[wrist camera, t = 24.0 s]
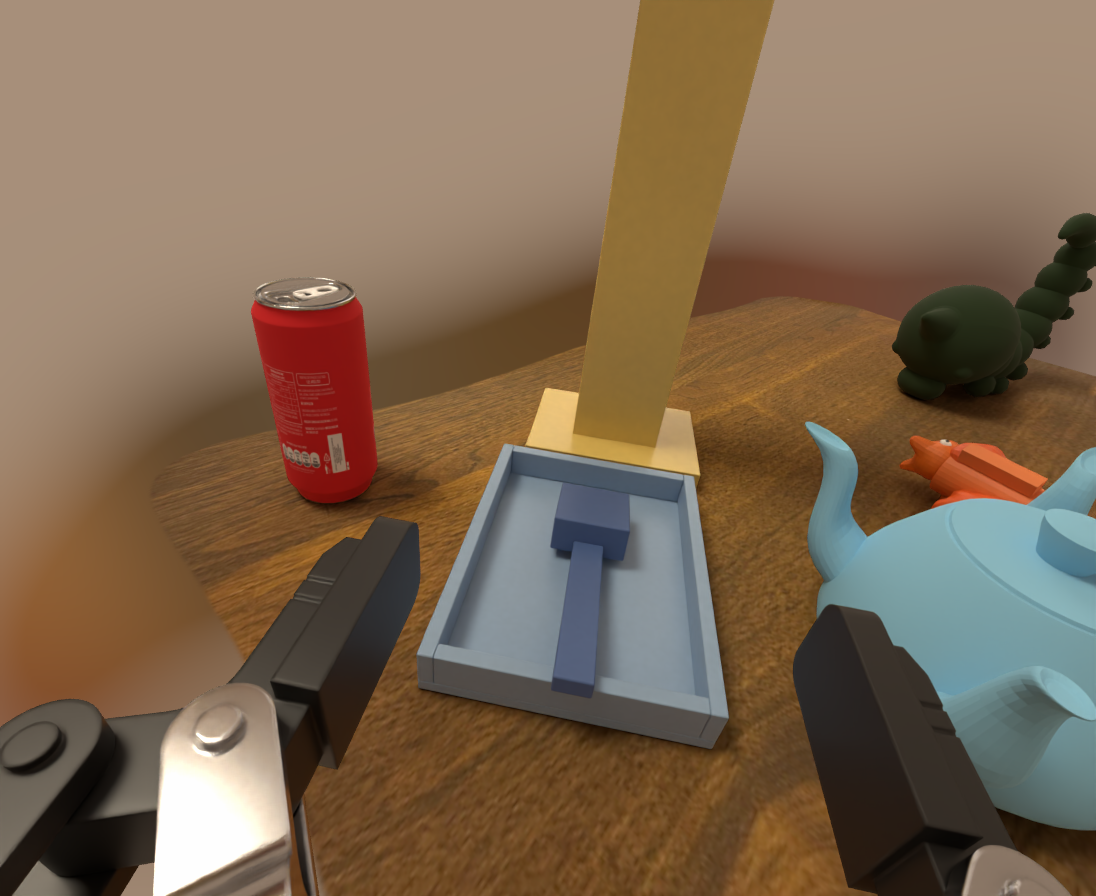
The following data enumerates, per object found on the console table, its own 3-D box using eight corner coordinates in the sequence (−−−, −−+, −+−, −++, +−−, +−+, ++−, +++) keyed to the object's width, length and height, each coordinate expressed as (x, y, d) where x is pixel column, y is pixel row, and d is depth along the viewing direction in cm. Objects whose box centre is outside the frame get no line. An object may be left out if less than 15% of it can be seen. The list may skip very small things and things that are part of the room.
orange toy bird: (1163, 506, 29) (946, 406, 38) (1089, 575, 27) (876, 454, 36) (1113, 557, 33) (924, 455, 41) (1043, 621, 31) (859, 501, 39)
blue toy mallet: (519, 685, 20) (524, 646, 19) (558, 510, 31) (562, 481, 31) (623, 706, 19) (633, 668, 19) (623, 522, 31) (629, 493, 30)
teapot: (1261, 898, 19) (1614, 757, 13) (859, 868, 18) (1047, 707, 12) (985, 585, 31) (1106, 442, 25) (740, 561, 30) (808, 409, 25)
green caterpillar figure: (953, 371, 65) (835, 378, 53) (1056, 210, 56) (939, 175, 44) (1038, 406, 59) (923, 423, 47) (1171, 231, 49) (1070, 195, 37)
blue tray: (417, 688, 22) (415, 654, 21) (502, 472, 35) (504, 442, 34) (712, 750, 21) (729, 718, 20) (684, 504, 34) (694, 476, 33)
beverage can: (272, 482, 32) (225, 287, 25) (344, 448, 35) (320, 270, 29) (324, 520, 29) (287, 317, 23) (396, 480, 33) (382, 295, 27)
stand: (508, 464, 36) (565, -270, 18) (533, 398, 44) (589, -150, 27) (710, 499, 35) (977, -238, 17) (697, 425, 43) (868, -124, 26)
